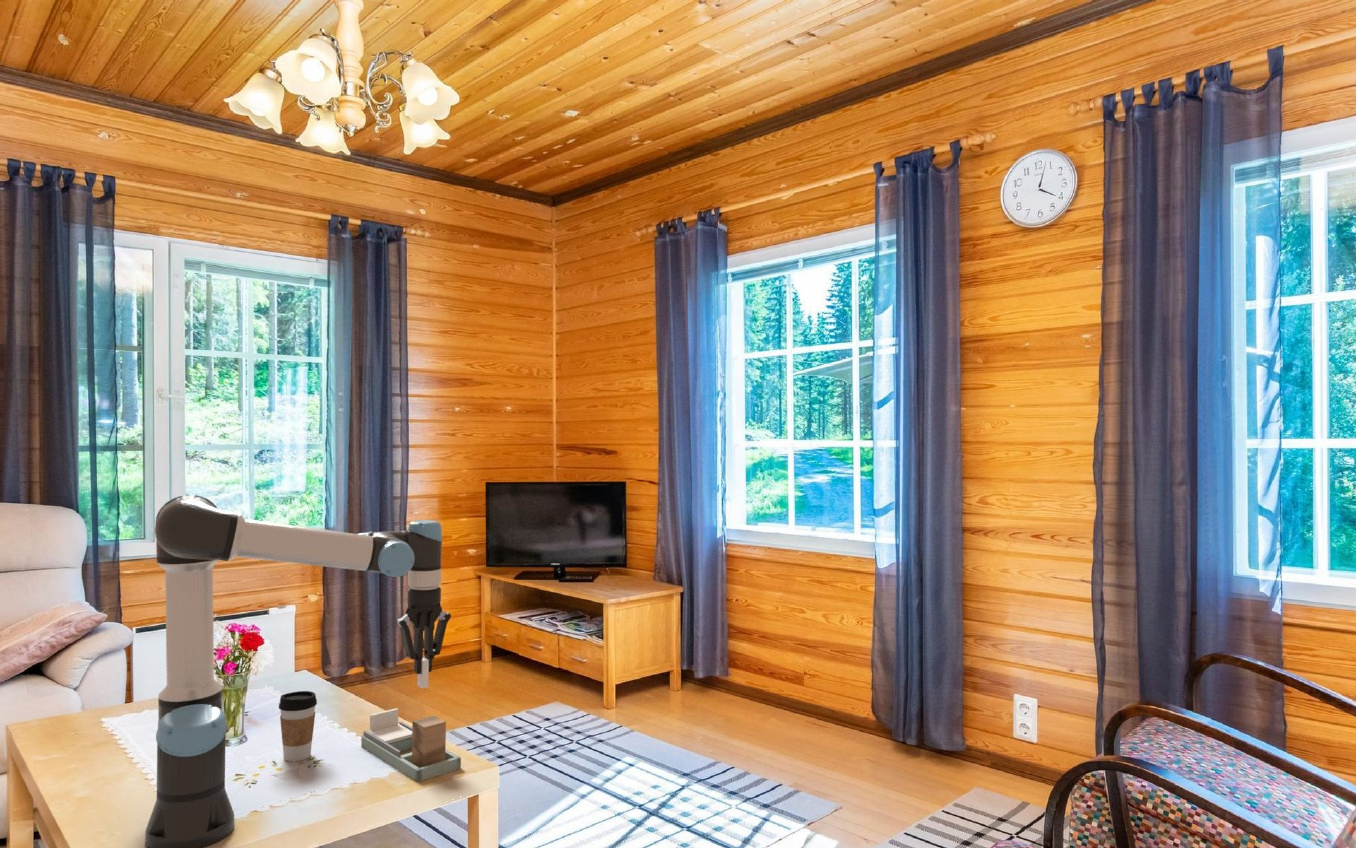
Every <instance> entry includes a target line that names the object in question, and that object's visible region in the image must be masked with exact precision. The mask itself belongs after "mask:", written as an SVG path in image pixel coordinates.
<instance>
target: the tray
mask: <svg viewBox="0 0 1356 848" xmlns="http://www.w3.org/2000/svg"><path fill="white" fill-rule="evenodd" d="M398 724H400V725H402V726H404V727H405V728H407V729H409V730H411V731H412V726H410V725H409V724H407V723H405V722H403V721H398ZM368 731H369V730H363V732H362V733H363V736H361V740H360V741H361V744H360V745H361V746H360V747H362V748H363V749H364V750H366V749H367V750H366V751H367V752H369V751H370V753H371V754H373V755H374V756H376V757H378V758H379V759H380V760H382V761H383V762H385V763H387V764H389V765H390V766H392V767H394V768H395V769H397V770H398V771H400V772H401V773H403V774H404V775H406V776H408V777H409V778H411V779H412V780H414V781H415V782H420V781H424V779H425V780H428V779H430V778H433V777H436V776H440V775H444V774H446V773H450V772H453V771H457V770H460V769H462V767H461V765H462V764H461V763H462V760H461V759H462V757H460V756H458V755H457V754H456V753H453V752H451V751H449V750H448V749H446V748H445V761H441V762H438V763H435V764H431V765H428V766H425V767H421V768H418V767H417V766H415V765H413V764H412V751H411V752H408V753H405V754H401V753H402V752H405V751H407V750H412V737H411V738H407V739H404V740H400V741H396V742H393V743H389V744H388V743H386V742H384V741H383V740H381V739H379V738H378V737H376V736H374V735H373V734H371V733H369V732H368Z"/></svg>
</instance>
